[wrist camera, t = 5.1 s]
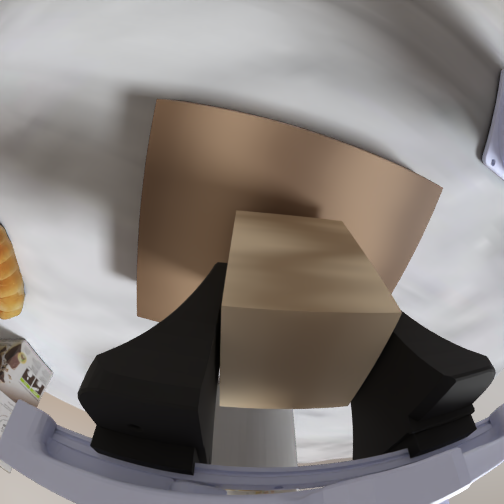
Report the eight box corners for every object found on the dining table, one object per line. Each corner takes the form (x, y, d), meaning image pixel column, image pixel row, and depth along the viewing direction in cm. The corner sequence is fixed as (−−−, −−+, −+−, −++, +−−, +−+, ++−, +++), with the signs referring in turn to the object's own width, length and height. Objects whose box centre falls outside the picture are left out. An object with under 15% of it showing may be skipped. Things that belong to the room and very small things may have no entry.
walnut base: (415, 172, 14) (443, 187, 11) (341, 324, 20) (351, 354, 17) (175, 100, 12) (156, 98, 10) (151, 286, 18) (137, 316, 15)
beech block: (341, 221, 11) (402, 312, 6) (320, 303, 14) (347, 406, 8) (236, 210, 11) (221, 305, 6) (230, 298, 13) (219, 406, 8)
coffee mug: (296, 379, 23) (307, 480, 14) (287, 423, 28) (293, 498, 19) (153, 375, 23) (129, 468, 15) (176, 420, 28) (164, 492, 19)
